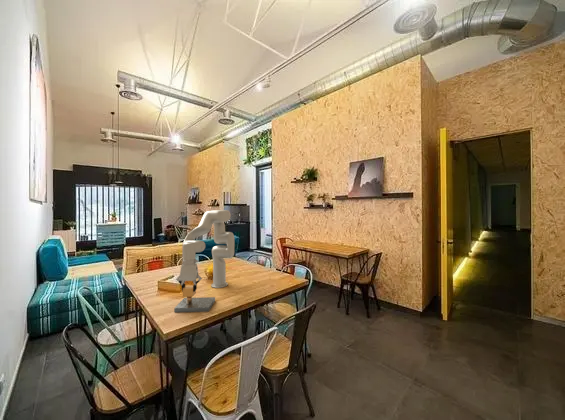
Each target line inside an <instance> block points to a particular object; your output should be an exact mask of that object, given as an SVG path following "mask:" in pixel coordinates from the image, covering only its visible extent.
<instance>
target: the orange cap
mask: <svg viewBox="0 0 565 420" xmlns="http://www.w3.org/2000/svg"><path fill="white" fill-rule="evenodd" d="M193 285H194V284H191V285H189V284H188V285H187V284H185V287H184V288H183V292H182V297H183V298H187V297H192V298H194V296H195V294H196V293H197V290H196V291H195V292H193Z"/></svg>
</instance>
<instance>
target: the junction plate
mask: <svg viewBox="0 0 565 420" xmlns="http://www.w3.org/2000/svg"><path fill="white" fill-rule="evenodd" d="M215 302H216V297H215V296H212V297H207V296H206V297H205V296H204V297H183V298H182V299H181V300H180V302H178V304H177V305H176V306H175V307H174V311H173V313H201V312H203V313H206V312H207V313H208V312H210V310H211V309H212V307H213V305H214V304H215Z"/></svg>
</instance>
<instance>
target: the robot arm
mask: <svg viewBox="0 0 565 420" xmlns="http://www.w3.org/2000/svg"><path fill="white" fill-rule="evenodd" d="M231 216H232V215H231V212H230V210H227V209H211V210H208V211H204V213H203V215H202V217H201V220H200V221H199V223H198V225H197V226H196V227H195V228H193V229H192V230H191V231H189V232H188V233H187V234H186V236H185V238H184V240H183V242H182V245H181V246H182V248H181V249H182V251H181V252H182V263H181V266H180V271H179V276H178V277H177V278H176V280H175V281H177V282H178V284H180V286H181V292H182V293H183V288H184V287H185V286H186V283H185V282H192V283H193V284H192V285H193V292H195V291H196V292H197V288H198V287H197V286H198V283H199V282H200V281H201V280H202V279H203V277H201V276H200V275H199V267H198V264H197V263H198V262H199V260H198V259H197V258H196V253H201V252H203V251H205V249H206V243H205V241H203V240H201V239H200V240H198V239H197V238H199V237H201V236H204V235H207V234H208V233H210V231H211V229H212V227H213V241H214V243H215V244H216V245H215V246H213V247H211V248H212V249H211V255H212V275H213V277H212V281H213V282H212V283H211V285H210V286H211V288H216V289H220V288H225V287H227V286H228V282H227V281H226V274H227V273H226V272H227V270H226V260H225V259H231V258H233V257H234V256H235V235H234V233H233V232H232V231H226V225H225V222H229V220H230V219H231ZM196 239H197V240H196Z"/></svg>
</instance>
